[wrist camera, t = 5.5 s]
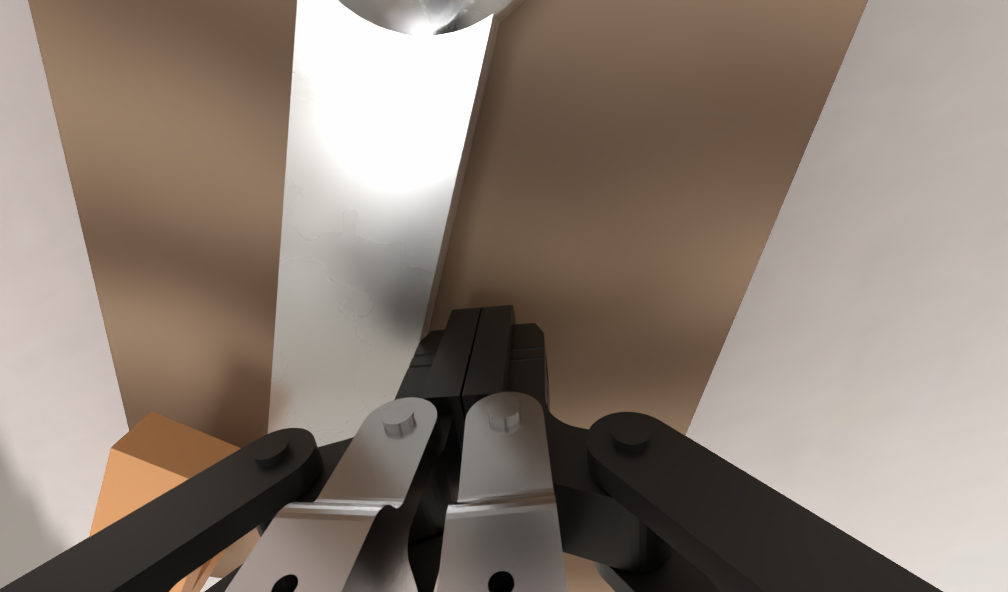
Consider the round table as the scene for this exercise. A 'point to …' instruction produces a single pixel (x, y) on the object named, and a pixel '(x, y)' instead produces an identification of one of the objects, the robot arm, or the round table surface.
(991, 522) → the round table surface
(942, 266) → the round table surface
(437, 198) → the lever
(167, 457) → the block
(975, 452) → the round table surface
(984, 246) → the round table surface
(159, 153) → the base plate
